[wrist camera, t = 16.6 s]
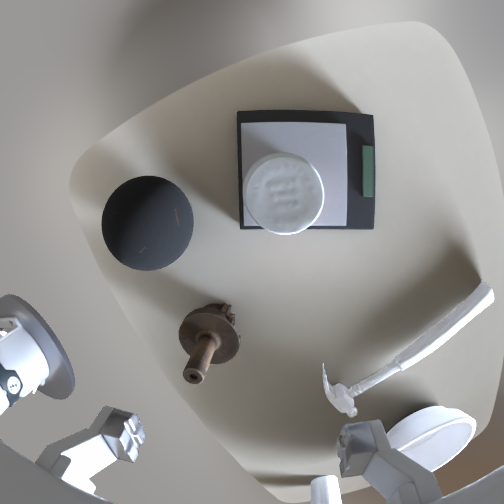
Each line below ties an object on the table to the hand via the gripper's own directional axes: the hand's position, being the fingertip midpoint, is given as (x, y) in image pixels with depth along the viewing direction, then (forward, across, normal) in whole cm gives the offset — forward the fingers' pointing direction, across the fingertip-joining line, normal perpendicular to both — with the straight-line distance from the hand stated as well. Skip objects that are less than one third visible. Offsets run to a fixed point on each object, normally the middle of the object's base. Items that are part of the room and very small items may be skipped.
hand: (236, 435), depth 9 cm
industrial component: (+25, +7, +9) cm, 28 cm away
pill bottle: (+22, -2, -8) cm, 24 cm away
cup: (+26, -14, +55) cm, 62 cm away
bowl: (+25, -31, +37) cm, 54 cm away
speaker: (+25, +12, -5) cm, 28 cm away
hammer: (+25, -22, +13) cm, 36 cm away
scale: (+25, -5, -10) cm, 27 cm away
